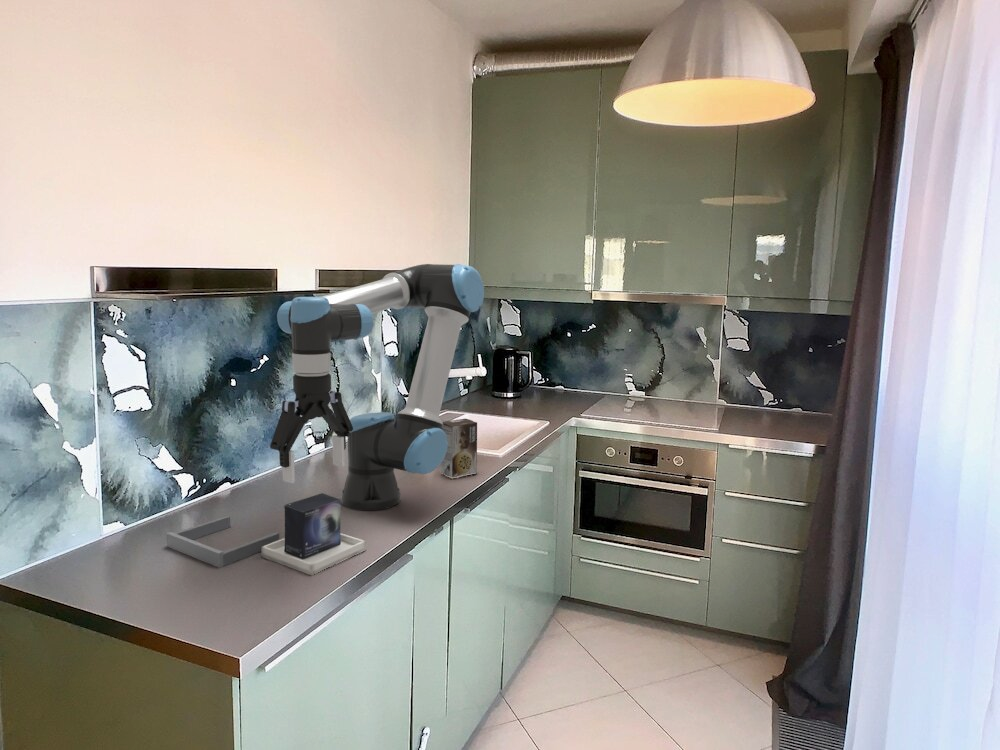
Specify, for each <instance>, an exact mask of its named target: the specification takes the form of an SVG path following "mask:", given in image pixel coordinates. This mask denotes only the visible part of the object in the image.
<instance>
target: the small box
mask: <svg viewBox="0 0 1000 750" xmlns="http://www.w3.org/2000/svg"><path fill="white" fill-rule="evenodd" d="M341 505H342V498H337V497H334V496H332V495H329V494H326V493H319V494H314V495H313V496H309V497H305V498H302V499H300V500H296V501H293V502H290V503H286V504H284V505H283V507H284V538H285V549H284V552H286V553H289V554H291V555H294V556H296V557H299V558H301V559H305V558H307V557H310V556H312V555H315V554H317V553H320V552H322V551H325V550H328V549H330V548H333V547H335V546H338V545H340V544H341V529H342V528H341V520H342V519H341V515H342V513H341V510H342V508H341Z"/></svg>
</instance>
